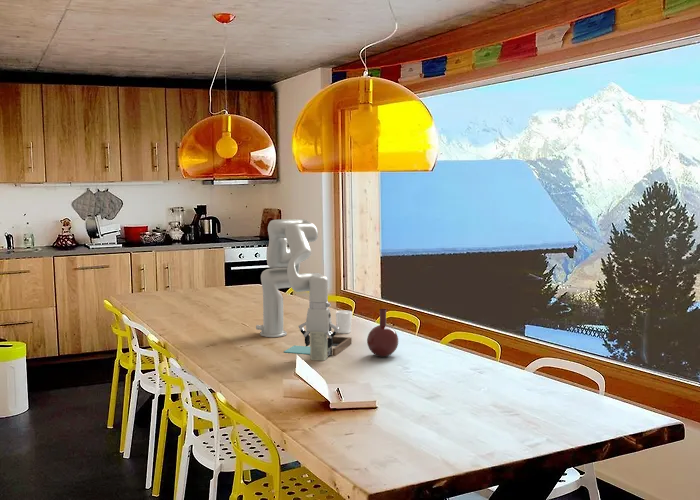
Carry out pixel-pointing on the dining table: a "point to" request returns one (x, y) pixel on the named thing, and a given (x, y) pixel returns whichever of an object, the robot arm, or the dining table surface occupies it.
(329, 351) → the brushed steel block
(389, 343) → the round-bottom flask
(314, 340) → the skincare box
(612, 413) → the dining table surface
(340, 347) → the brown rectangular frame
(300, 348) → the coaster
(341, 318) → the white cup
